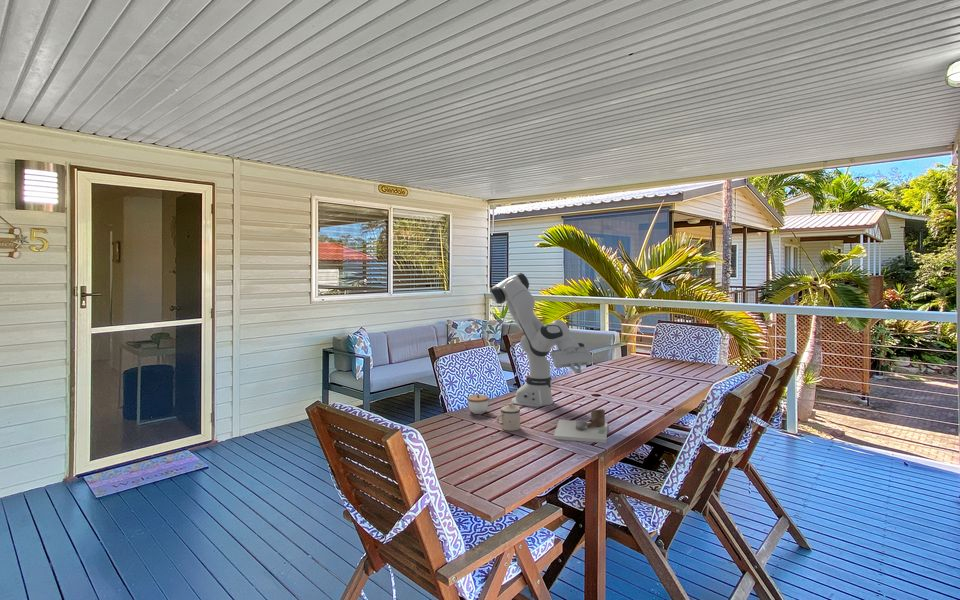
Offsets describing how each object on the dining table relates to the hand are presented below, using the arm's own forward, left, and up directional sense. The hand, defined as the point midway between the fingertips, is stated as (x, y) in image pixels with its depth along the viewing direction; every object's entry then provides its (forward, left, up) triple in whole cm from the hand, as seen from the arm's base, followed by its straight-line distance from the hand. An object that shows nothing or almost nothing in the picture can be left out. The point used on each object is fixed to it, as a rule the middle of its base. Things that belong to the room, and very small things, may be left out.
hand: (578, 372), depth 239 cm
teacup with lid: (-31, -18, -24) cm, 42 cm away
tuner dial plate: (+2, -16, -23) cm, 28 cm away
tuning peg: (+6, -13, -21) cm, 26 cm away
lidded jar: (-51, +3, -24) cm, 56 cm away
